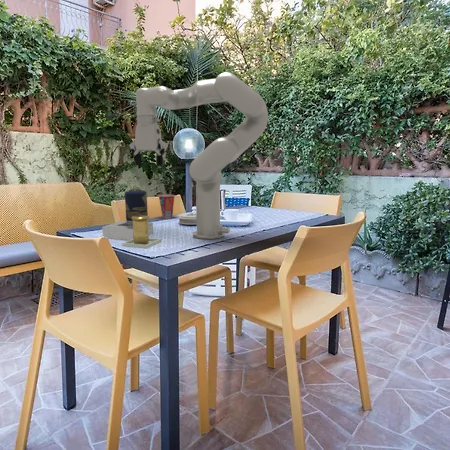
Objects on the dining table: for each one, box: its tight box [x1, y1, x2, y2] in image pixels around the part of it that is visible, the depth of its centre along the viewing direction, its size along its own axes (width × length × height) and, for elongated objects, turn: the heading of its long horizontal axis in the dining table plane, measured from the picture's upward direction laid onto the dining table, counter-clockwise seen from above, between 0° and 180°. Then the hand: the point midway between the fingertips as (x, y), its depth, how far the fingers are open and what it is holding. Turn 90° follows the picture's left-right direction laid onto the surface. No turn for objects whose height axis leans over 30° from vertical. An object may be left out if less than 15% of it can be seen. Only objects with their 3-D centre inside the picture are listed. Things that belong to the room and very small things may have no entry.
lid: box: [178, 212, 197, 225], centre depth 169 cm, size 13×13×5 cm
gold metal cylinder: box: [132, 215, 150, 245], centre depth 128 cm, size 6×6×10 cm
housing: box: [102, 220, 154, 241], centre depth 142 cm, size 14×14×5 cm
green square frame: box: [121, 237, 162, 249], centre depth 129 cm, size 10×10×2 cm
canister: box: [124, 188, 149, 221], centre depth 157 cm, size 10×10×18 cm
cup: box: [157, 194, 176, 220], centre depth 183 cm, size 9×8×12 cm
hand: (149, 165), depth 142 cm, fingers open, 9 cm apart
